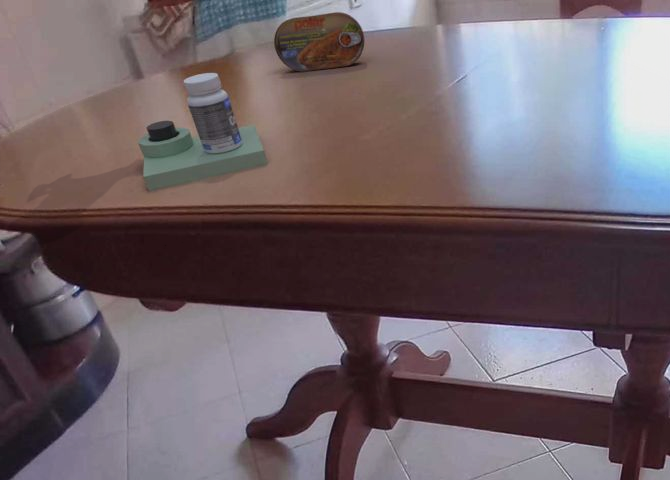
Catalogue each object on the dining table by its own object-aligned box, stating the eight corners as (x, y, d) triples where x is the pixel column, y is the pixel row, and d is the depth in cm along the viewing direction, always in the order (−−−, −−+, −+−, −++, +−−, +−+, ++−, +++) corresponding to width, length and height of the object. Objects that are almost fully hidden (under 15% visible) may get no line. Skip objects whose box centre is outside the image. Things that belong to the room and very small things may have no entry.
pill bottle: (247, 147, 86) (225, 76, 81) (208, 157, 84) (183, 86, 79) (238, 137, 89) (216, 68, 84) (200, 147, 87) (176, 77, 82)
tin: (281, 74, 120) (267, 21, 115) (284, 69, 122) (271, 17, 117) (368, 64, 119) (358, 11, 114) (370, 59, 122) (360, 7, 117)
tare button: (151, 145, 86) (146, 131, 85) (151, 137, 88) (146, 124, 87) (178, 139, 87) (173, 125, 86) (177, 132, 89) (172, 118, 88)
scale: (148, 192, 82) (136, 163, 80) (149, 160, 91) (138, 134, 89) (268, 164, 85) (260, 136, 83) (257, 137, 94) (250, 111, 92)
